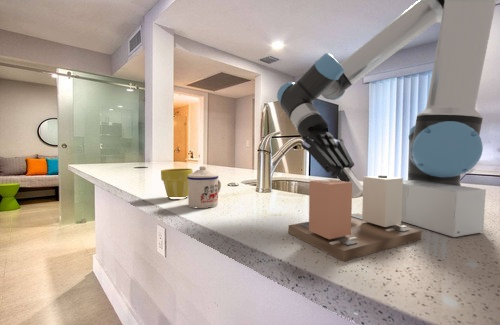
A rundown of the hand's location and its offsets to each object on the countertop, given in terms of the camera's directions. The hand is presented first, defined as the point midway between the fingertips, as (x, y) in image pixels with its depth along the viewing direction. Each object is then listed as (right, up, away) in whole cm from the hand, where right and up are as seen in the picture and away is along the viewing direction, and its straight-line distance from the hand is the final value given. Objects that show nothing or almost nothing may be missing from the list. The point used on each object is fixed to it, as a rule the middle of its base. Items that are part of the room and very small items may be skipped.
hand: (359, 193), depth 55 cm
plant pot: (-49, -5, +30) cm, 58 cm away
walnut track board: (-4, -7, -7) cm, 11 cm away
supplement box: (+14, -2, +7) cm, 15 cm away
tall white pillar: (+2, -5, -4) cm, 7 cm away
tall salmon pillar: (-10, -5, -11) cm, 16 cm away
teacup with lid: (-37, -6, +20) cm, 43 cm away
